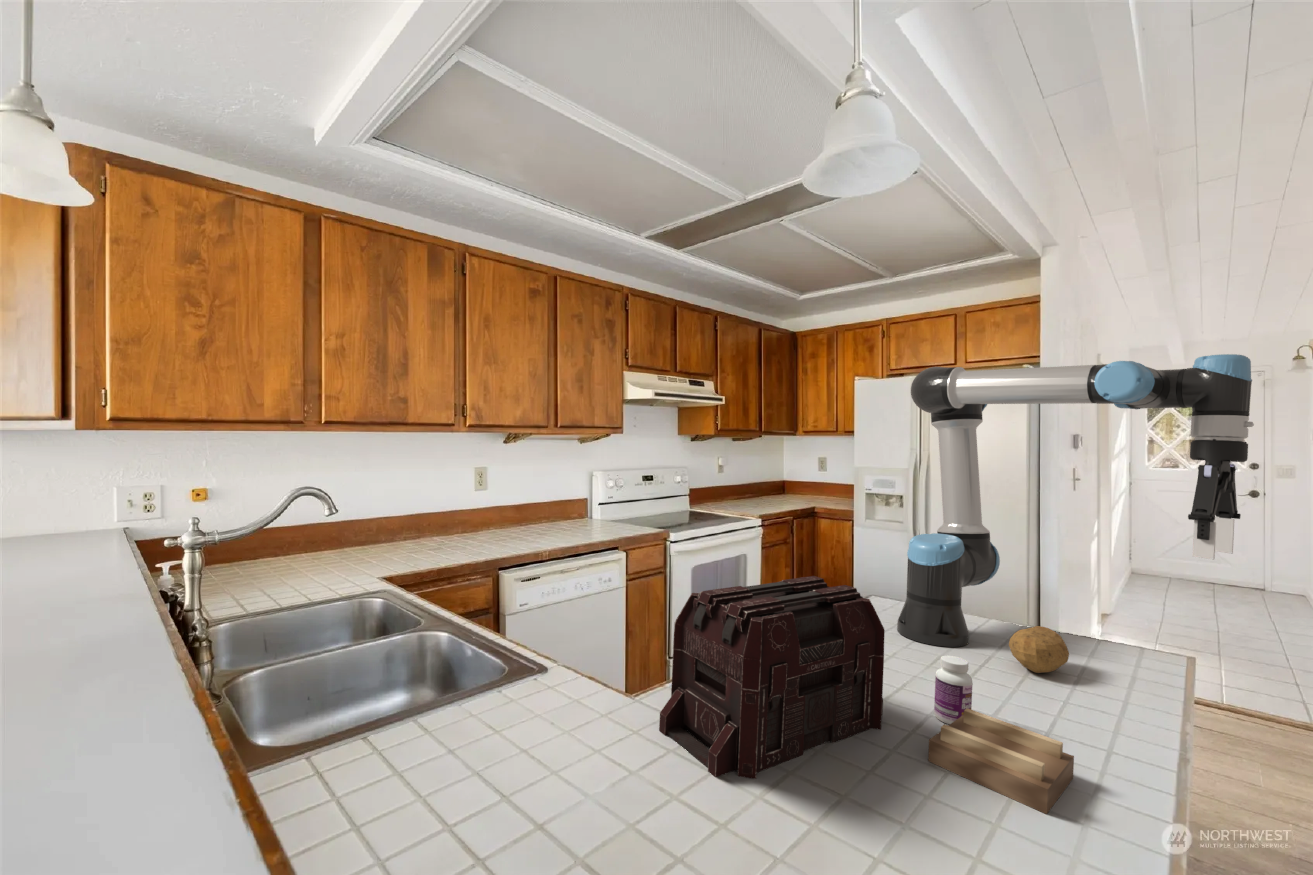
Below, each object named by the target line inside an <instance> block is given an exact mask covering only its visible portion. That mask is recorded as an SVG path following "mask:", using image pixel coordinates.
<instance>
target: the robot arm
mask: <svg viewBox="0 0 1313 875" xmlns="http://www.w3.org/2000/svg"><path fill="white" fill-rule="evenodd" d="M1252 382H1253V379H1252V361H1251V359H1250V358H1249V357H1248V356H1246V355H1244V354H1243V355H1242V354H1235V353H1234V354H1233V353H1231V354H1229V353H1228V354H1225V353H1223V354H1211V355H1202V356H1199V357H1197V358H1195V360H1194V364H1193V365H1192V367H1188V368H1181V369H1180V368H1179V369H1177V368H1176V369H1155V368H1152V367H1149V366H1145V365H1144V364H1142V363H1141V362H1136V361H1133V360H1116V361H1113V362H1109V363H1108V364H1107V363H1105V364H1086V365H1083V364H1081V365H1063V366H1062V365H1061V366H1046V367H1045V366H1044V367H1043V366H1042V367H1041V366H1040V367H1024V368H1021V367H1020V368H1002V369H1000V368H999V369H984V370H982V369H981V370H966V369H965V368H964V367H962V366H957V367H955V366H954V367H951V366H950V367H944V366H932V367H928V368H925V369H923V370H922V371H920V372H919V373H918V374H917V375H915V377H914V378H913V380H912V383H911V385H910V397H911V399H912V401H913V403H914V404H915V405H916V406H917V407H918V409H920V410H922V411H923V412H926V413H928V414H929V413H930V422H931V426H932V427H934V428H935V429H936V430H937V433H938V448H939V449H938V451H939V452H938V453H939V466H940V468H939V469H940V484H941V501H942V502H941V504H942V505H941V506H942V520H943V522H942V525H941V526H940V527H939V528H937V530H936V532H937V533H934V532H933V533H921V534H917V535H914V536H913V537H911V538H910V540H909V543H908V549H907V553H906V556H907V570H906V571H907V572H906V573H907V574H906V576H907V577H906V598H905V601H904V604H903V607H902V609H901V612H900V614H899V616H898V619H897V623H896V624H897V625H896V626H897V627H896V630H897V632H898V633H899V634H900V635H901V636H903V637H904V638H907V639H909V640H912V641H915V642H918V643H922V644H927V645H932V646H937V647H938V646H939V647H945V648H946V647H948V648H950V647H951V648H952V647H953V648H956V647H957V648H958V647H964V646H966V644H967V643H968V644H969V639H970V638H969V637H970V636H969V635H970V634H969V629H968V626H967V622H966V619H965V615H964V612H963V609H962V597H963V596H962V594H963V588H965V587H970V586H974V587H975V586H977V585H981V584H984V583H986V582H988V581H990V580H991V579H993V577H995V575H996V574H997V572H998V570H999V568H1000V562H1001V560H1000V558H1001V557H1000V554H999V551H998V549H997V547H996V546H995V545H994V544H993V543H992V542H991V533H990V530H989V529H988V528H987V527H986V526H985V525H984V524H983V517H982V502H981V484H980V470H979V468H980V467H979V454H978V440H977V439H978V438H977V437H978V435H977V428H978V427H979V426H980V425H981V424H982V423H983V420H984V419H983V411H984V410H985V408H987V406H988V405H1013V404H1014V405H1019V404H1020V405H1023V404H1024V405H1029V404H1030V405H1031V404H1034V405H1037V404H1038V405H1039V404H1040V405H1044V404H1048V405H1050V404H1053V405H1055V404H1056V405H1057V404H1060V405H1061V404H1062V405H1063V404H1069V405H1070V404H1073V405H1074V404H1098V405H1099V404H1102V405H1103V404H1106V405H1107V404H1111V405H1112V404H1114V406H1115V407H1116V408H1118V409H1130V410H1131V409H1132V410H1142V409H1174V408H1175V409H1176V408H1178V409H1179V408H1182V409H1187V408H1191V420H1190V434H1189V435H1190V437H1191V438H1194V440H1191V441H1190V444H1189V445H1190V446H1189V458H1190V459H1191V460H1193V461H1204V462H1205V463H1204V464H1199V465H1198V467H1197V481H1196V486H1195V491H1194V497H1193V501H1192V507H1191V512H1190V513H1188V515H1187V519H1188V520H1189V521H1193V538H1192V557H1193V558H1199V559H1200V558H1201V559H1204V560H1205V559H1206V560H1212V561H1215V560H1216V559H1215V557H1216V552H1217V553H1224V554H1234V538H1235V520H1241V513H1239V510H1238V503H1237V491H1236V490H1237V487H1236V486H1237V485H1236V470H1237V469H1236V466H1231V462H1232V463H1245V462H1247V461H1248V458H1249V443H1247V441H1244V439H1248V438H1249V428H1253V427H1254V425H1255V423H1254V422H1253V421H1249V420H1250V417H1249V416H1250V409H1251V394H1252ZM968 644H967V645H968Z"/></svg>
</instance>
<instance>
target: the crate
mask: <svg viewBox="0 0 1313 875" xmlns="http://www.w3.org/2000/svg"><path fill="white" fill-rule="evenodd" d="M679 612H680V613H679V614H678V616H677V617H676V619H675V621H674V624H673V626H674V627H673V640H672V641H673V642H672V643H673V644H672V666H671V668H672V669H671V691H670V692H671V693H670V698H669V699H668V700H667V702H666V703H665V705H664V706H663V707H662V709H661V710H660V712H659V726H658V727H659V728H658V731H659V732H660V733H661V734H662V735H663V736H668V738H670V740H673V741H674V742H675V743H676V742H677V743H676V744H677V745H679V747H681V746H682V747H683V748H682V747H681V748H682V749H683V750H685V749H686V750H687V751H688V752H687V751H686V750H685V751H686V752H687V753H688V754H690V755H691V756H692V757H693V758H694V759H696V760H697V761H698V762H700V764H702V765H703V766H704V767H706V769H707V772H708V773H709V774H710V773H711V774H710V775H712V776H713V777H714V778H718V777H721V776H724V775H725V773H726V774H729V773H732V772H734V771H735V772H737V776H738V777H740V778H745V779H747V778H748V779H755V780H757V773H760V772H762V771H765V770H767V769H770V768H773V767H776V766H778V765H780V764H783V763H786V762H789V761H790V760H791V761H792V760H793V759H797V758H798V757H801V756H803V755H804V752H805V751H807V750H810V749H812V748H816V747H818V746H821V745H823V744H825V743H829V742H830V743H832V744H834V743H835V744H836V743H837V742H840V741H843V740H846V739H848V738H850V737H853V736H857V735H859V734H861V733H863V732H867V731H868V730H872V729H873V730H880V731H881V730H882V716H883V714H884V713H883V710H884V697H883V690H884V669H885V668H884V666H885V664H884V663H885V632H886V630H885V627H884V625H883V624H882V621H881V619H880V617H879V615H878V614H877V610H876V609H875V607H874V605H873V603H872V601H871V599H870V598H864V597H863V596H862V595H861V592H858V589H857V587H853V586H850V585H846V584H842V585H837V586H828V583H827V582H825V579H824V578H822V577H819V576H815V575H811V576H802V577H796V578H789V579H782V580H781V581H777V582H769V583H762V584H756V585H754V584H753V585H749V586H748V585H747V586H742V585H737V586H732V587H731V586H730V587H723V588H716V589H715V588H714V589H708V590H702V591H700V592H692V593H691V594H690V596H689V597H688V599H687V600H686V602H685V604H684V606H683V607H682V609H681V611H679Z"/></svg>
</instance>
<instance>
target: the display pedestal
mask: <svg viewBox="0 0 1313 875" xmlns="http://www.w3.org/2000/svg"><path fill="white" fill-rule="evenodd" d="M1063 747H1064V742H1062V741H1060V740H1057V739H1054V738H1051V737H1049V736H1046V735H1042V734H1040V733H1037V732H1035V731H1032V730H1029V729H1026V728H1023V727H1020V726H1018V725H1014V724H1012V723H1009V722H1007V721H1004V720H1001V719H999V718H995V717H993V716H990V715H988V714H984V713H981V712H979V711H976V710H973V709H972V708H971V709H968V708H967V709H965V710H964V715H962V716H961V717H960V718H958V719H957V720H955V721H954V722H953V723H951V724H950V725H949V724H946V723H944V724H943V725H942V726H940V731H939V732H938V733H935V735H933V736H932V737H931V738H929V740H928V757H927V758H928V759H927V760H928V761H927V762H929V763H931V764H933V765H936V766H937V767H940V768H943V769H944V770H947V771H949V772H951V773H954V774H956V775H958V776H960V777H962V778H965V779H967V780H969V781H971V782H974V783H976V784H978V785H980V786H983V787H985V788H986V789H989V790H991V791H994V792H996V793H998V794H1000V795H1002V796H1005V797H1007V798H1010V799H1012V800H1014V801H1017V802H1018V803H1021V804H1023V805H1025V806H1027V807H1029V808H1031V809H1034V810H1036V811H1039V812H1040V813H1043V814H1045V815H1048V813H1049V812H1050V810H1051V809H1052V808H1053V807H1054V805H1055V804H1057V801H1058V799H1060V797H1061V795H1062V794H1063V793H1064V791H1065V790H1066V789H1067V788H1068V786H1069V785H1070V784H1071V782H1072V781H1073V779H1074V770H1075V769H1074V767H1075V756H1074V755H1072V754H1069V753H1066V752H1064V748H1063Z"/></svg>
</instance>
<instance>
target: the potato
mask: <svg viewBox="0 0 1313 875" xmlns="http://www.w3.org/2000/svg"><path fill="white" fill-rule="evenodd" d="M1008 641H1009V642H1008V647H1009V648H1010V652H1011V655H1012V656H1013V657H1014V658H1015V659H1016V660H1017V661H1018V662H1019V663H1020V664H1021V666H1022V667H1024V668H1026V669H1027V670H1029V671H1031V672H1032V673H1035V674H1039V673H1051V672H1054V671H1056V670H1058V669H1059V668H1060V667H1062V666H1064V665H1065V664H1066V663H1068V662H1069V661H1068V660H1069V657H1070V652H1069V649H1068V647H1067V644H1066V643H1065V641H1064V639H1063V637H1062V636H1061V635H1060V634H1058V633H1057V632H1056V631H1054V630H1052V629H1051V628H1048V627H1045V626H1040V625H1035V626H1032V627H1028V628H1023V629H1019V630H1017V631H1015V632H1014V633H1013V634H1012V636H1010V638H1009V640H1008Z"/></svg>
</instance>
